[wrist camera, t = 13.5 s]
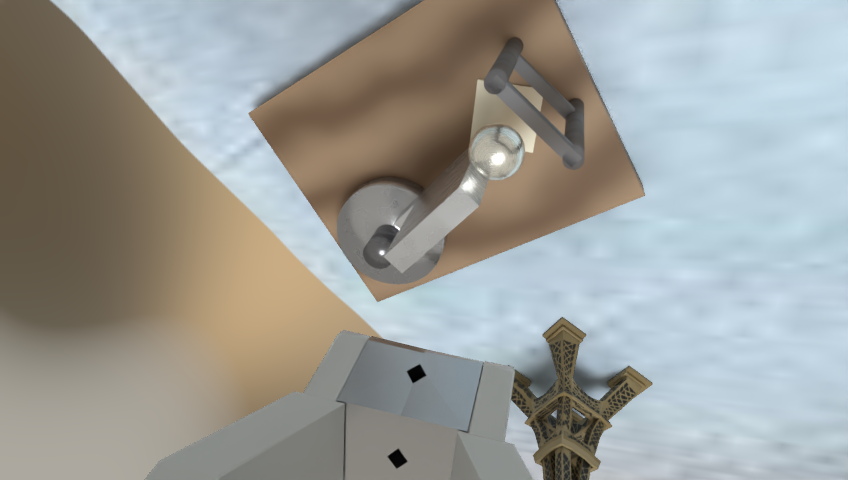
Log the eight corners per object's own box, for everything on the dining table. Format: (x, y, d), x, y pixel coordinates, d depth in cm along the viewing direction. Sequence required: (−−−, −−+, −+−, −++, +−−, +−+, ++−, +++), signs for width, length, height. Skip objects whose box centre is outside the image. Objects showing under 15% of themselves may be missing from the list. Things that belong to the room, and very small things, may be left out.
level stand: (259, 106, 50) (169, 159, 39) (525, -65, 39) (503, -58, 28) (383, 290, 56) (335, 380, 45) (642, 185, 45) (661, 269, 34)
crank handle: (482, 57, 41) (449, 103, 31) (569, 146, 43) (564, 217, 33) (325, 222, 51) (260, 298, 41) (400, 289, 53) (356, 379, 42)
